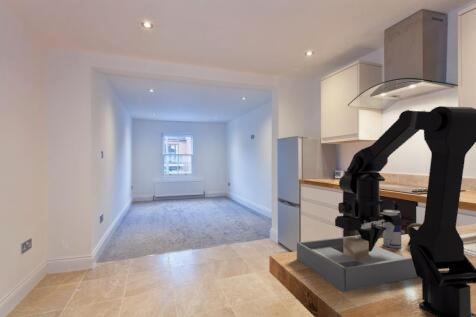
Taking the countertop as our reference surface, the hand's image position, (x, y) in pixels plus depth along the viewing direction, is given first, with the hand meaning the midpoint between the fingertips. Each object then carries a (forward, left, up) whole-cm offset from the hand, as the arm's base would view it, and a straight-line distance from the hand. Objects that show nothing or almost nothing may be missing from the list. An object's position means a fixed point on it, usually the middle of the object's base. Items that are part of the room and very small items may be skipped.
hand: (368, 251), depth 70 cm
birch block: (0, +5, -1) cm, 5 cm away
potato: (+7, -30, -4) cm, 32 cm away
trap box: (0, +5, -4) cm, 6 cm away
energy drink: (+10, -20, -4) cm, 23 cm away
